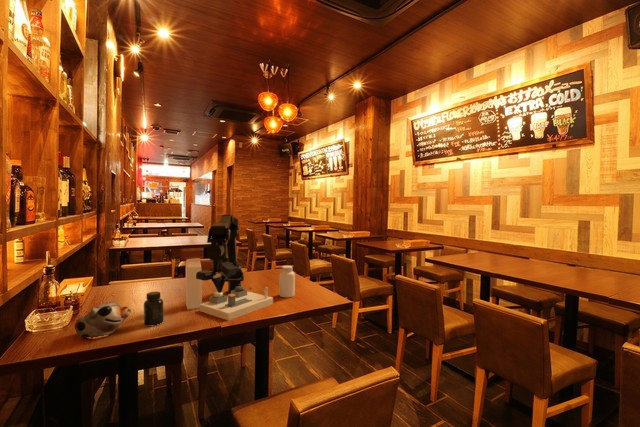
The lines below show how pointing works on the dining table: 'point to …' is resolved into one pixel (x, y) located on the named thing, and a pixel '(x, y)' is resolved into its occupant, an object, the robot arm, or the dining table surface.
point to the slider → (231, 299)
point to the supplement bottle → (153, 309)
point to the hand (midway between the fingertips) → (219, 292)
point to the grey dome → (238, 288)
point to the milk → (193, 284)
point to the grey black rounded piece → (101, 320)
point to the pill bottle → (287, 282)
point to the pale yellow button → (218, 295)
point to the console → (236, 304)
